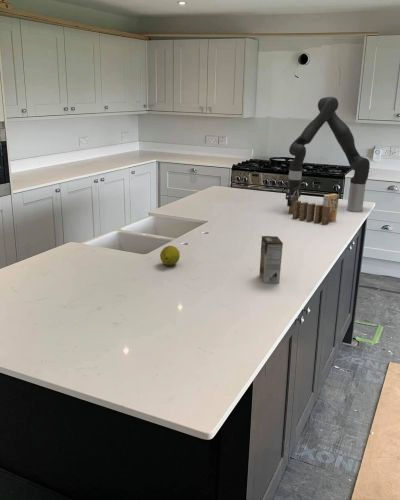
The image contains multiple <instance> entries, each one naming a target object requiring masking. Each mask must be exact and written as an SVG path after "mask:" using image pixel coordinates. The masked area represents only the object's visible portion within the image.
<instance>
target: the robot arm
mask: <svg viewBox="0 0 400 500" xmlns="http://www.w3.org/2000/svg"><path fill="white" fill-rule="evenodd" d="M338 108H339V101H338V99H337V98H336V97H334V96H326V97H321V98H320V99H319V100H318V102H317V109H318V111H319V113H318V114H317V115H316V117H314V118H313V119H312V120H311V121H310V122H309V123H308V125H307V126H306V127H305V128H304V130H303V131H302V132H301V134H300V135H299V136H298V137H297V138H296V139H295V140H294V141H292V143H291V145H290V146H289V148H288V149H289V150H288V153H289V154H290V155H291V156H294V159H292V160H290V163H289V172H288V177H287V178H288V179H287V187H289V188H287V189H285V190H286V191H285V200H287V204H286V206H287V207H288V208H289V207H290V206H291V200H292V197H294V196H297V201H299V198H300V197H301V195H302V187H301V186H302V185H301V184H302V177H303V176H302V174H303V172H302V171H303V163H304V162H305V158H306V156H307V155H306V154H307V149H306V145H308V144H311V142H312V141H313V140H314V138H315V136H316V135H317V133H318V131H319V130H320V129H321V128H322V127H323V125H324V124H325V123H326V122H327V124H328V126H329V128H330V130H331V132H332V134H333V135H334V137H335V139H336V141H337V143H338V144H339V147H340V148H341V149H342V151H343V153H344V155H345V157H346V159H347V162H348V164H349V167H350V168H351V169H352V171H354V172H353V174H354V175H353V177H351V178H350V182H349V187H348V198H347V205H346V210H347V211H348V212H352V213H353V212H354V213H360V212H361V213H362V212H363V208H364V207H363V206H364V201H365V200H364V199H365V191H366V184H367V180H368V179H369V175H370V174H369V172H370V166H371V165H370V160H369V159H368V158H367V157H364V156H361V155H360V153H359V151H358V149H357V148H356V145H355V138H354V136H353V132H352V131H351V129H350V128H349V126H348V125H347V123H346V122H344V121H343V120H342V119H341V118H340V117H339V116H338V114H337V113H336V111H337V110H338ZM290 197H291V198H290Z"/></svg>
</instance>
